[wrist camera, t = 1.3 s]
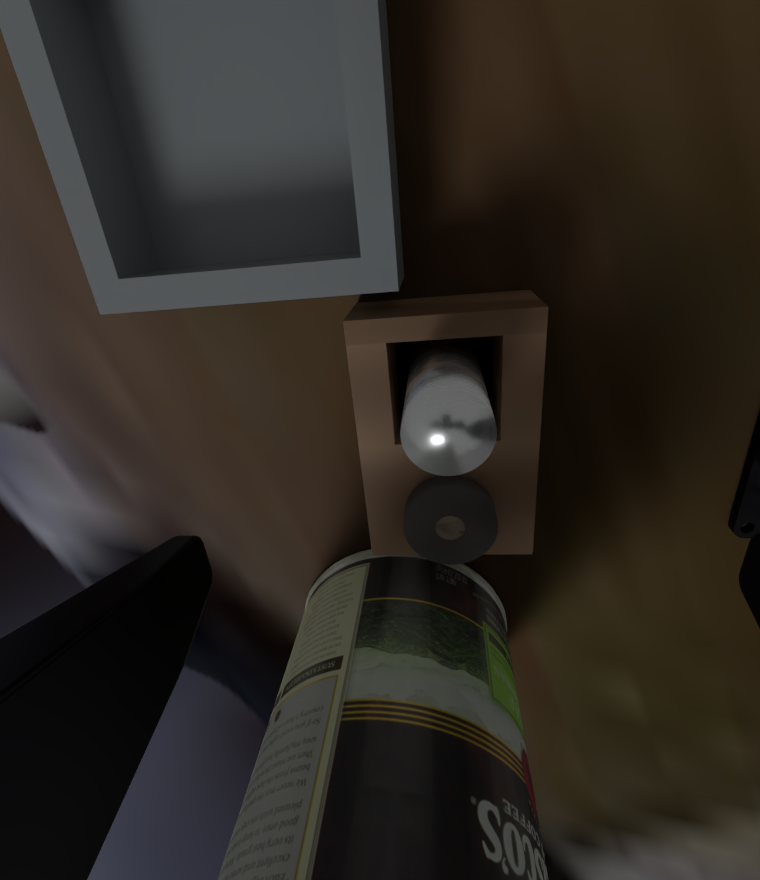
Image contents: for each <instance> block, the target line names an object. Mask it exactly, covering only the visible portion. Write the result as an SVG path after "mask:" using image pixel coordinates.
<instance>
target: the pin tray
mask: <svg viewBox="0 0 760 880" xmlns="http://www.w3.org/2000/svg"><path fill="white" fill-rule="evenodd" d="M0 28H1V31H2V34H3V37H4V40H5V43H6V46H7V49H8V51H9V54H10V57H11V60H12V63H13V66H14V69H15V72H16V74H17V77H18V80H19V83H20V86H21V89H22V92H23V94H24V97H25V100H26V103H27V106H28V109H29V112H30V115H31V117H32V120H33V123H34V126H35V129H36V132H37V135H38V138H39V140H40V143H41V146H42V149H43V152H44V155H45V158H46V160H47V163H48V166H49V169H50V172H51V175H52V178H53V181H54V183H55V186H56V189H57V192H58V195H59V198H60V201H61V204H62V206H63V209H64V212H65V215H66V218H67V221H68V224H69V227H70V229H71V232H72V235H73V238H74V241H75V244H76V247H77V249H78V252H79V255H80V258H81V261H82V264H83V267H84V270H85V272H86V275H87V278H88V281H89V284H90V287H91V290H92V293H93V295H94V298H95V301H96V304H97V307H98V310H99V313H100V315H103V314H116V313H128V312H141V311H154V310H166V309H179V308H192V307H204V306H217V305H230V304H242V303H255V302H268V301H280V300H293V299H306V298H318V297H331V296H343V295H356V294H369V293H381V292H394V291H399V289H400V286H401V284H402V281H403V279H404V266H403V250H402V235H401V220H400V205H399V190H398V175H397V160H396V144H395V129H394V114H393V99H392V84H391V69H390V54H389V38H388V23H387V8H386V0H0Z"/></svg>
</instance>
